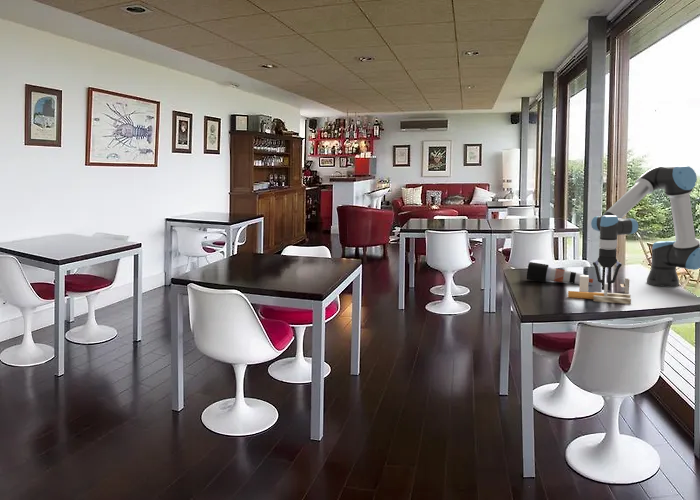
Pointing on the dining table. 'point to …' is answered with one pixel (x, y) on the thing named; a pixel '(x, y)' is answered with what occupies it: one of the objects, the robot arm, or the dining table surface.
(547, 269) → the black white tapered cylinder
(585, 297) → the orange rod
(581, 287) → the white tall block
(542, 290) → the dining table surface
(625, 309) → the dining table surface
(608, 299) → the clip rails
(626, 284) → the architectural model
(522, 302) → the dining table surface
